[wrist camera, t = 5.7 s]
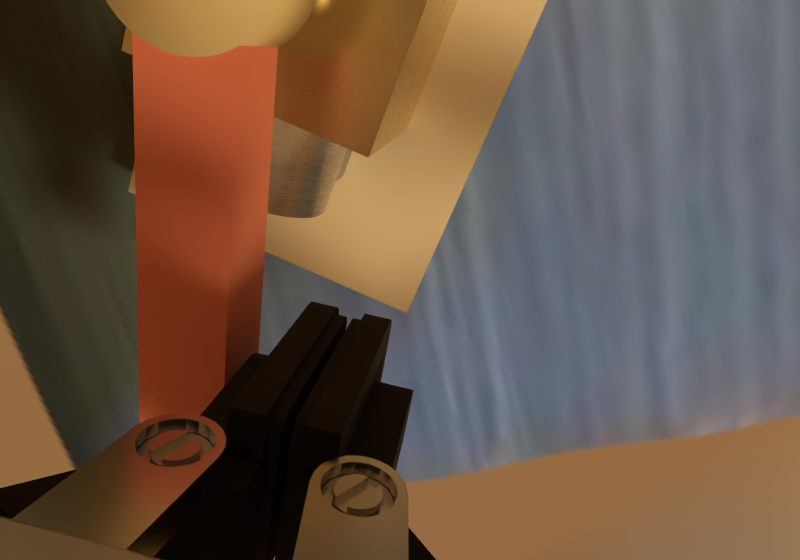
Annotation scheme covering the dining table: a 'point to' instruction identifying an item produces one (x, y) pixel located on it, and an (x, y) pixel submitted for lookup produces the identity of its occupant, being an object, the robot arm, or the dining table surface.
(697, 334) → the dining table surface
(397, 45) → the valve body
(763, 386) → the dining table surface
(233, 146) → the valve lever
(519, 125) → the dining table surface
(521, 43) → the mounting board
